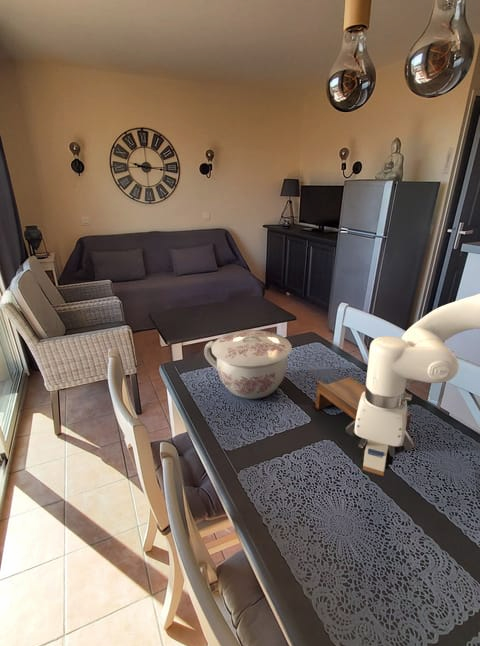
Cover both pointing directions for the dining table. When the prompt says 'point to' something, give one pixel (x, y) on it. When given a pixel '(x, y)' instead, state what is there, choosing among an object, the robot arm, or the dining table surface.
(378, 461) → the slotted cream box
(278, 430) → the dining table surface
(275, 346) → the chamber pot
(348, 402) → the shoe shelf
